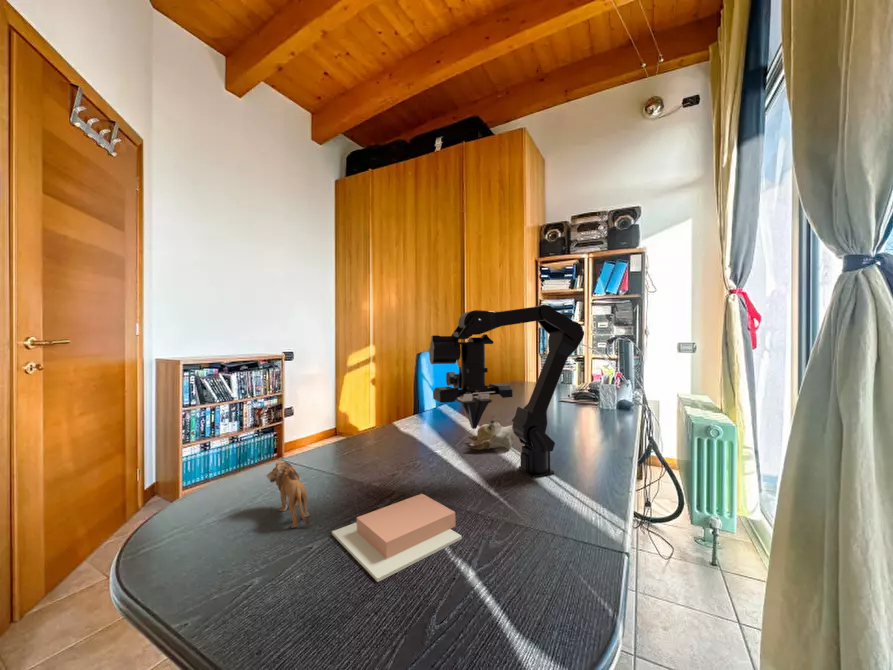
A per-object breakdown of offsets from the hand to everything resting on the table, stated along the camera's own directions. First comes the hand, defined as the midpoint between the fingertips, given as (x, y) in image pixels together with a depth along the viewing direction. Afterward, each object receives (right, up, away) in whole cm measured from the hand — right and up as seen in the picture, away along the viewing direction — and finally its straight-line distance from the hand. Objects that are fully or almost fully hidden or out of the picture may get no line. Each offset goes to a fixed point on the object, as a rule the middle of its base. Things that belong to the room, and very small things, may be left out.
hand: (473, 428), depth 86 cm
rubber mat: (-15, -12, -24) cm, 31 cm away
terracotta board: (-8, -10, -19) cm, 23 cm away
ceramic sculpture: (+7, -12, +23) cm, 27 cm away
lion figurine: (-37, -13, -16) cm, 42 cm away
